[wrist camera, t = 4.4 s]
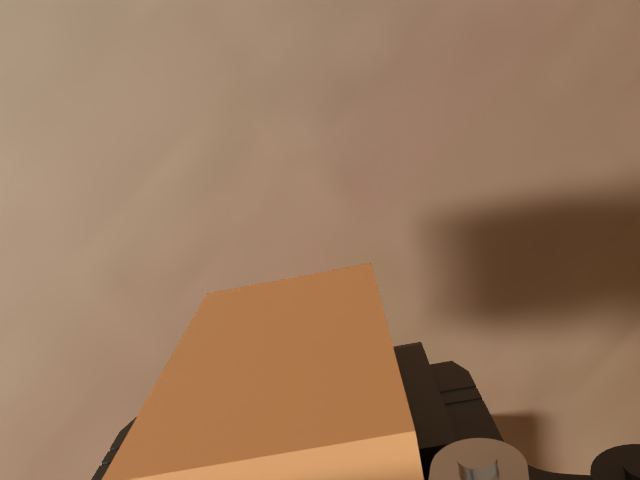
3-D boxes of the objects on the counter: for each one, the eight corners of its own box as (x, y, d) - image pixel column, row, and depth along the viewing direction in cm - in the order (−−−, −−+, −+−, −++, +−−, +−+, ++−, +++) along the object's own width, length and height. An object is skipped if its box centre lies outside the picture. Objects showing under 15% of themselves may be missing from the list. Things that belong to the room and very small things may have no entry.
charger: (206, 293, 14) (18, 627, 5) (370, 263, 14) (448, 558, 5) (244, 437, 15) (136, 914, 6) (398, 411, 15) (502, 869, 6)
